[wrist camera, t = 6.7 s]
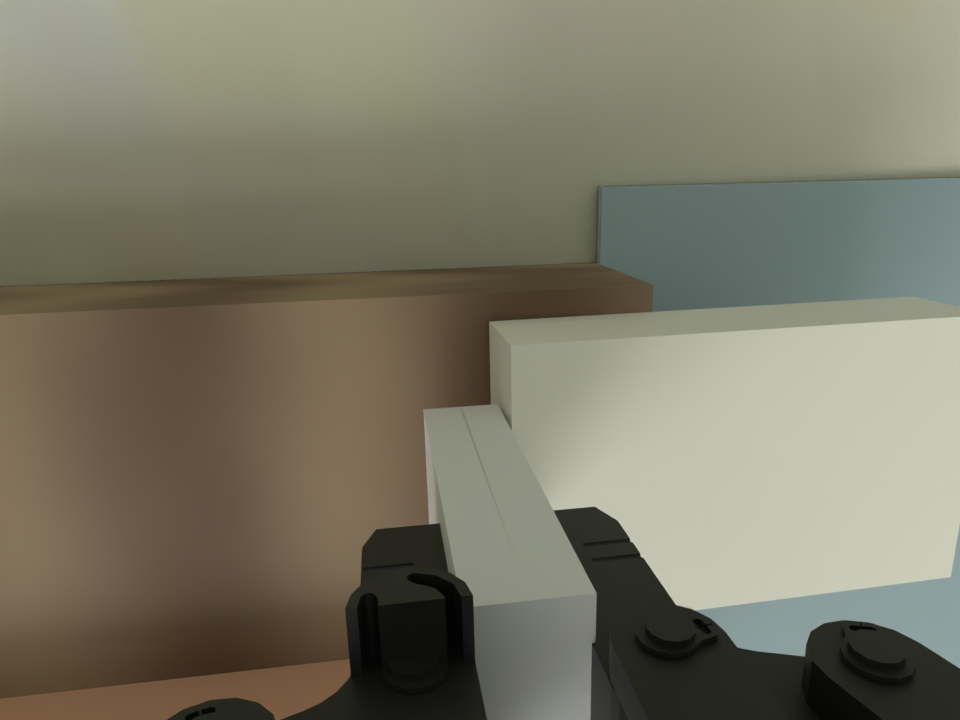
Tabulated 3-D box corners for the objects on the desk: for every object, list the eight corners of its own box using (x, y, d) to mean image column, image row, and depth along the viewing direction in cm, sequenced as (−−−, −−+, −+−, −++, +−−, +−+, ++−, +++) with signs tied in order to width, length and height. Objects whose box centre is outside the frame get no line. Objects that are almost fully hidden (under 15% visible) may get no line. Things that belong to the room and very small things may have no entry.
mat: (584, 796, 24) (587, 803, 23) (598, 186, 18) (602, 187, 18) (1053, 727, 26) (1060, 734, 26) (1183, 171, 21) (1194, 171, 20)
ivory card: (494, 574, 16) (514, 634, 14) (489, 321, 15) (510, 345, 13) (880, 529, 18) (950, 577, 16) (912, 296, 16) (995, 314, 14)
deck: (-86, 810, 20) (-194, 960, 16) (-236, 296, 16) (-425, 334, 12) (586, 722, 23) (629, 833, 19) (596, 262, 19) (653, 285, 15)
